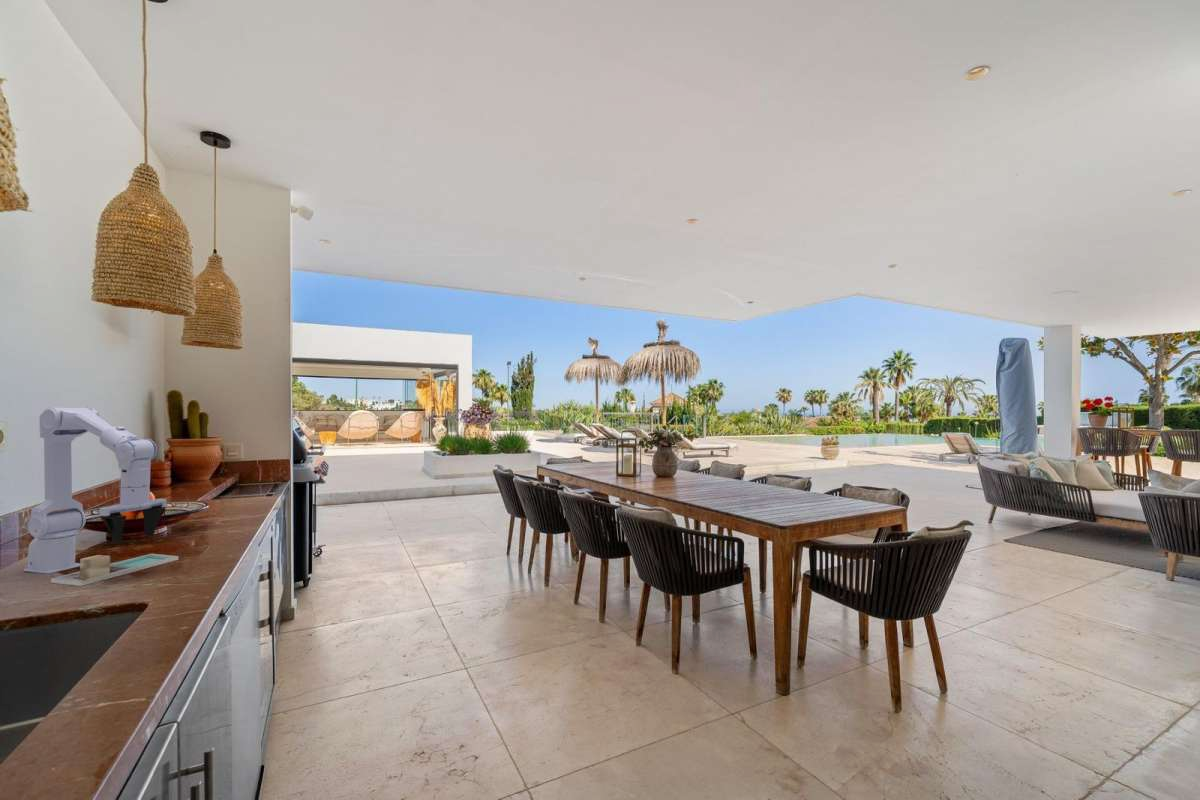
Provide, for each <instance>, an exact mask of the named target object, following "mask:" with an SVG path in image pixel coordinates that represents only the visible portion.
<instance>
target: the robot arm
mask: <svg viewBox="0 0 1200 800" xmlns="http://www.w3.org/2000/svg"><path fill="white" fill-rule="evenodd" d="M86 433H91V434H92V435H95V436H96V437H98V438H99V442H100V444H101V445H103V446H104V447H105V448H106V449H109V450H110V451H112V452H113V453H114V454H115V457H116V460H117V463H118V465H117V466H118V469H119V470H120V490H119V491H120V492H119V495H120V496H119V503H118V504H113V505H108V506H103V507H99V516H100V520H102V522H103V523H104V524H105V526H106V528H107V530H108V532H109V534H110V538H111V541H112V543H113V544H114V543H118V544H120V543H122V541H123V537H124V535H123V534H124V525H125V522H126V520H127V515H123V513H130V512H136V511H141V512H142V515H143V522H144V524H143V525H144V526H143V530H144V536H149V537H152V536H153V537H154V536H155V531H156V529H157V526H158V523H159V521H160V519H161V518H162V516H163V515H164V514H165V512H166V506H167V498H156V499H150V491H151V489H150V487H151V486H150V485H151V466H152V465H151V464H152V463H151V461H153V460H154V459H155V458H156V456H157V453H158V447H157V444H156V443H155V442H154V441H153V440H152V439H151V438H145V439H142V438H140V437H138V435H136V434H133V433H131V432H130V431H128V430H127V429H126V427H125V426H121V425H120V426H117V425H116V426H112V425H110V424H109V423H108V422H106V420H105V419H102V418H101V416H100V412H99V410H96V409H95V408H93V407H89V406H88V407H87V406H86V407H54V406H49V407H47V408H46V409H44V410H43V411H42V413H40V415H39V437H40V438H42V439H43V455H44V456H43V457H44V459H43V460H44V464H43V466H44V472H43V473H44V474H43V475H44V501H42V502H41V503H39V504H38V505H36V506H35V507H33V508H32V509H31V510H30V517H29V520H28V524H27V530H28V533H29V534H30V535H31V536H32V537H33V539H32V540H31V542H30V543H29V545H28V548H27V549H28V550H27V551H28V554H27V568H24V569H23V572H29V573H36V574H37V573H40V574H53V573H58V572H61V571H65V570H71V569H73V568H78V567H79V568H80V562H76V548H77V547H76V546H77V545H76V543H77V534H79V533H80V531H81V530H83V528H84V527H85V526H86V525H85V524H86V520H87V517H86V514H85V512H84V507H83V506H84V505H83V504H82V503H81V502H79V501H77V500H76V499H73V480H72V479H73V475H72V471H73V470H72V467H73V466H72V442H73V441H75V440H76V438H78V437H81V436H83V435H85V434H86Z"/></svg>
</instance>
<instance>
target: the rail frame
mask: <svg viewBox="0 0 1200 800" xmlns="http://www.w3.org/2000/svg"><path fill="white" fill-rule="evenodd" d="M175 561H179V556H178V555H172V554H171V555H169V554H160V553H159V554H157V553H149V554H146V555H145V554H144V555H140V556H137V557H133V558H128V559H124V560H121V561H117V562H112V563H110V571H112V572H110V573H109V574H105V575H101V576H97V577H93V578H89V579H80V570H79V571H77V572H72V573H68V574H64V575H60V576H56V577H52V578H50V583H52V584H53V583H54V584H61V585H68V586H69V585H71V586H76V587H77V586H78V587H82V586H85V585H90V584H93V583H96V582H100V581H105V580H108V579H111V578H115V577H119V576H123V575H126V574H131V573H134V572H137V571H142V570H145V569H149V568H151V567H156V566H160V565H161V566H162V565H164V564H168V563H171V562H175ZM78 577H79V579H77V578H78Z"/></svg>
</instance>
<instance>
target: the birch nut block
mask: <svg viewBox="0 0 1200 800" xmlns="http://www.w3.org/2000/svg"><path fill="white" fill-rule="evenodd" d="M79 563H80V566H79V571H80V576H79V580H86V579H89V578H93V577H97V576H101V575H105V574H109V573H111V572H110V571H111V570H110V564H111V556H110V555H103V554H97V555H92V556H88V557H83V558H80V562H79Z"/></svg>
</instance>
